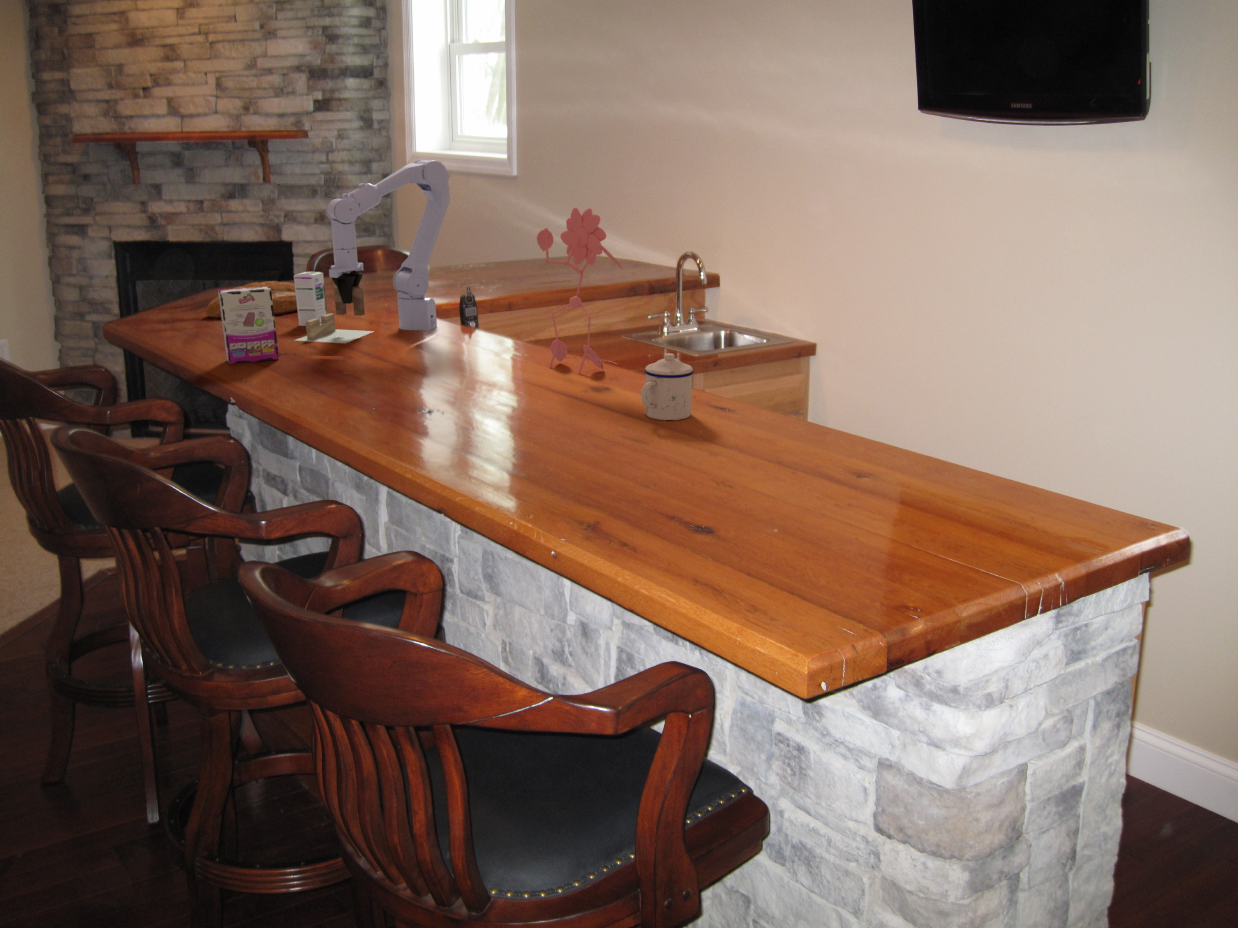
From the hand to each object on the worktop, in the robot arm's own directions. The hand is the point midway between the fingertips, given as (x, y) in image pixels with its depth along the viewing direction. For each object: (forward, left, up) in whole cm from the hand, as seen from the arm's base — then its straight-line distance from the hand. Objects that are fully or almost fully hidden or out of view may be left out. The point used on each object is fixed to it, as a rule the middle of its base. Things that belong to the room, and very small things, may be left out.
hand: (349, 302), depth 258 cm
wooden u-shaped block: (+7, +4, -8) cm, 11 cm away
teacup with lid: (-91, +56, -9) cm, 107 cm away
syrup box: (+17, -10, -9) cm, 22 cm away
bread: (+43, -29, -9) cm, 53 cm away
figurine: (-66, +18, -9) cm, 69 cm away
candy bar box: (+10, +31, -9) cm, 33 cm away
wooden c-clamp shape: (0, 0, -3) cm, 3 cm away
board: (+3, +3, -9) cm, 10 cm away
